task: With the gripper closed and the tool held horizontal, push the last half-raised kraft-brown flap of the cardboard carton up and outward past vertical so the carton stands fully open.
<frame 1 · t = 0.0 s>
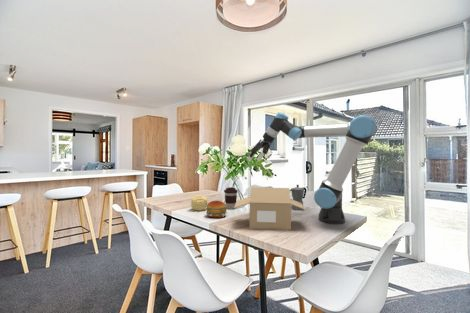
hand: (253, 160, 160), 36 cm above the table, tool tilted 35°, fingers open, 13 cm apart
coffeepot: (298, 209, 175), on the table
sculpture: (199, 210, 170), on the table
near flap: (270, 195, 129), point 18 cm above the table, hinge at 55.0°
carton: (269, 224, 136), on the table
coffee cup: (230, 208, 176), on the table
burger: (216, 216, 154), on the table
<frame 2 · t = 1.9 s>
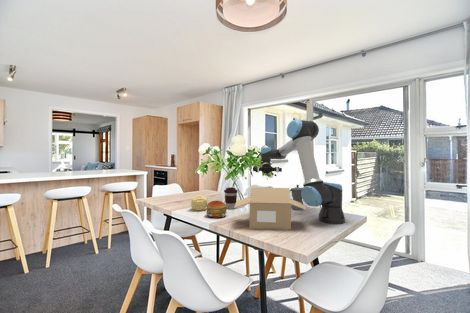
hand: (268, 170, 151), 30 cm above the table, tool horizontal, fingers open, 12 cm apart
nothing on the table moved.
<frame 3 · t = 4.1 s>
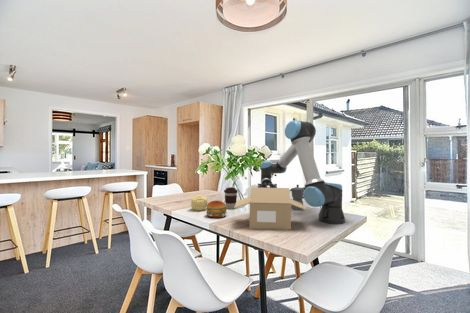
hand: (268, 189, 141), 19 cm above the table, tool horizontal, fingers closed
nothing on the table moved.
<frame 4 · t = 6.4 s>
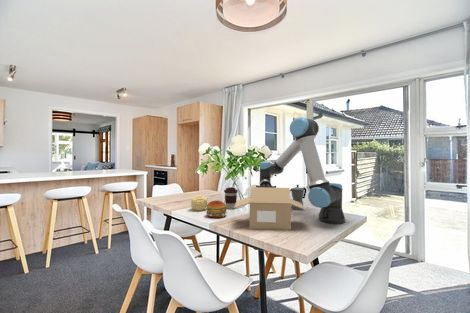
hand: (267, 191, 131), 20 cm above the table, tool horizontal, fingers closed
near flap: (270, 195, 129), point 18 cm above the table, hinge at 56.9°, touching gripper
everything else where it was.
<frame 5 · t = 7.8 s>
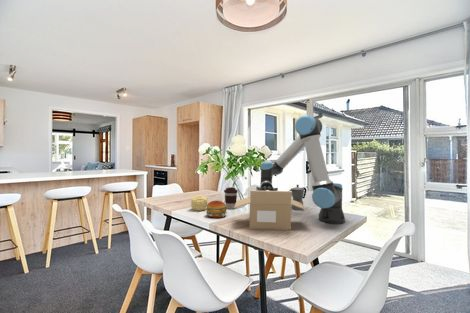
hand: (267, 194, 124), 19 cm above the table, tool horizontal, fingers closed
near flap: (270, 197, 124), point 18 cm above the table, hinge at 123.7°, touching gripper
everything else where it was.
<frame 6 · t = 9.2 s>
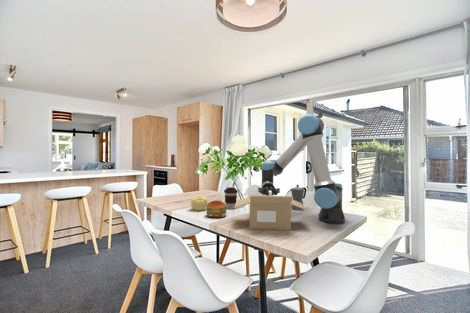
hand: (270, 195, 121), 20 cm above the table, tool horizontal, fingers closed
near flap: (270, 200, 123), point 17 cm above the table, hinge at 143.6°, touching gripper
everything else where it was.
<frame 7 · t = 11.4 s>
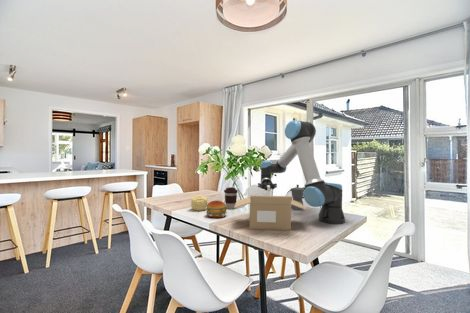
hand: (268, 188, 141), 20 cm above the table, tool horizontal, fingers closed
near flap: (270, 200, 123), point 17 cm above the table, hinge at 143.7°
everything else where it was.
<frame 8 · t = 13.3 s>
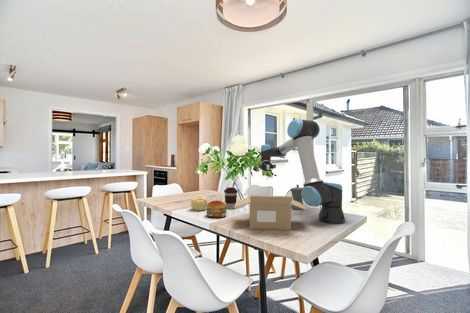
hand: (268, 167, 149), 32 cm above the table, tool horizontal, fingers closed
nothing on the table moved.
at the end: near flap at +144° (first picture: +55°) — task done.
